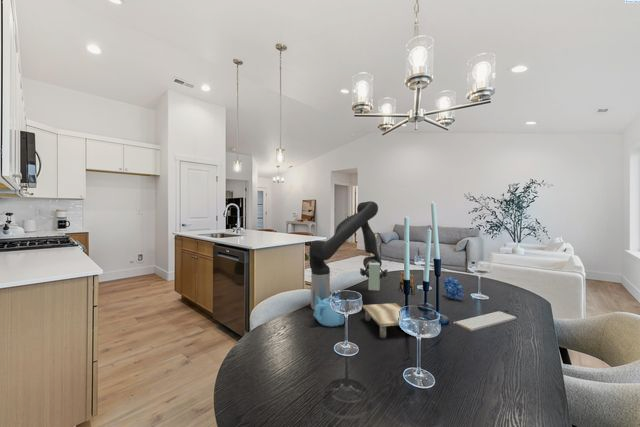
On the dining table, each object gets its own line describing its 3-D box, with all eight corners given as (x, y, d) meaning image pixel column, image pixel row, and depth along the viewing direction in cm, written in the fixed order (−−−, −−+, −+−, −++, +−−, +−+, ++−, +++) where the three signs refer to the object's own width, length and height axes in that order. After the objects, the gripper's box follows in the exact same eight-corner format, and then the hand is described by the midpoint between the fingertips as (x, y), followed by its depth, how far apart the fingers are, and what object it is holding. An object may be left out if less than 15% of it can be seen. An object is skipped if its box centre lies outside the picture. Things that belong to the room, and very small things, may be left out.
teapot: (315, 313, 127) (315, 291, 126) (347, 314, 126) (347, 291, 126) (313, 328, 111) (313, 302, 111) (349, 329, 110) (349, 303, 110)
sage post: (368, 289, 126) (369, 264, 126) (368, 286, 131) (368, 262, 131) (379, 290, 125) (379, 264, 125) (378, 287, 130) (379, 262, 130)
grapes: (438, 297, 150) (438, 276, 150) (445, 295, 154) (445, 274, 154) (458, 303, 140) (459, 280, 140) (465, 301, 144) (465, 279, 144)
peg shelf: (380, 339, 101) (380, 324, 101) (362, 318, 121) (362, 305, 121) (419, 336, 104) (419, 320, 104) (395, 316, 124) (395, 303, 124)
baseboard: (450, 323, 118) (471, 332, 109) (450, 316, 118) (471, 325, 109) (494, 312, 130) (516, 320, 121) (494, 306, 130) (516, 314, 121)
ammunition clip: (399, 290, 164) (399, 270, 164) (401, 289, 165) (401, 270, 165) (412, 295, 154) (412, 274, 154) (414, 294, 155) (414, 274, 155)
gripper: (359, 260, 143) (358, 267, 126) (387, 262, 141) (390, 268, 124) (359, 274, 143) (358, 283, 126) (387, 276, 141) (390, 285, 124)
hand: (374, 276), depth 125 cm, fingers closed on sage post, 5 cm apart
